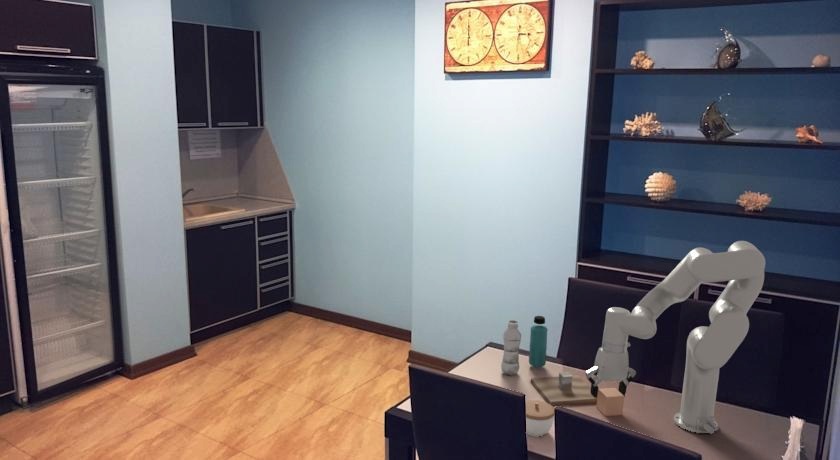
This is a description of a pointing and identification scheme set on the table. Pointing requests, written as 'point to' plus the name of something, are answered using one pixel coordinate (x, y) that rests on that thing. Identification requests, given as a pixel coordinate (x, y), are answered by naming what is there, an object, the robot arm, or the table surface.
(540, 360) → the beverage bottle
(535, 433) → the lidded jar
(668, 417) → the table surface
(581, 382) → the post board
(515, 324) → the plastic bottle
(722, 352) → the robot arm
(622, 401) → the natural wood cube
